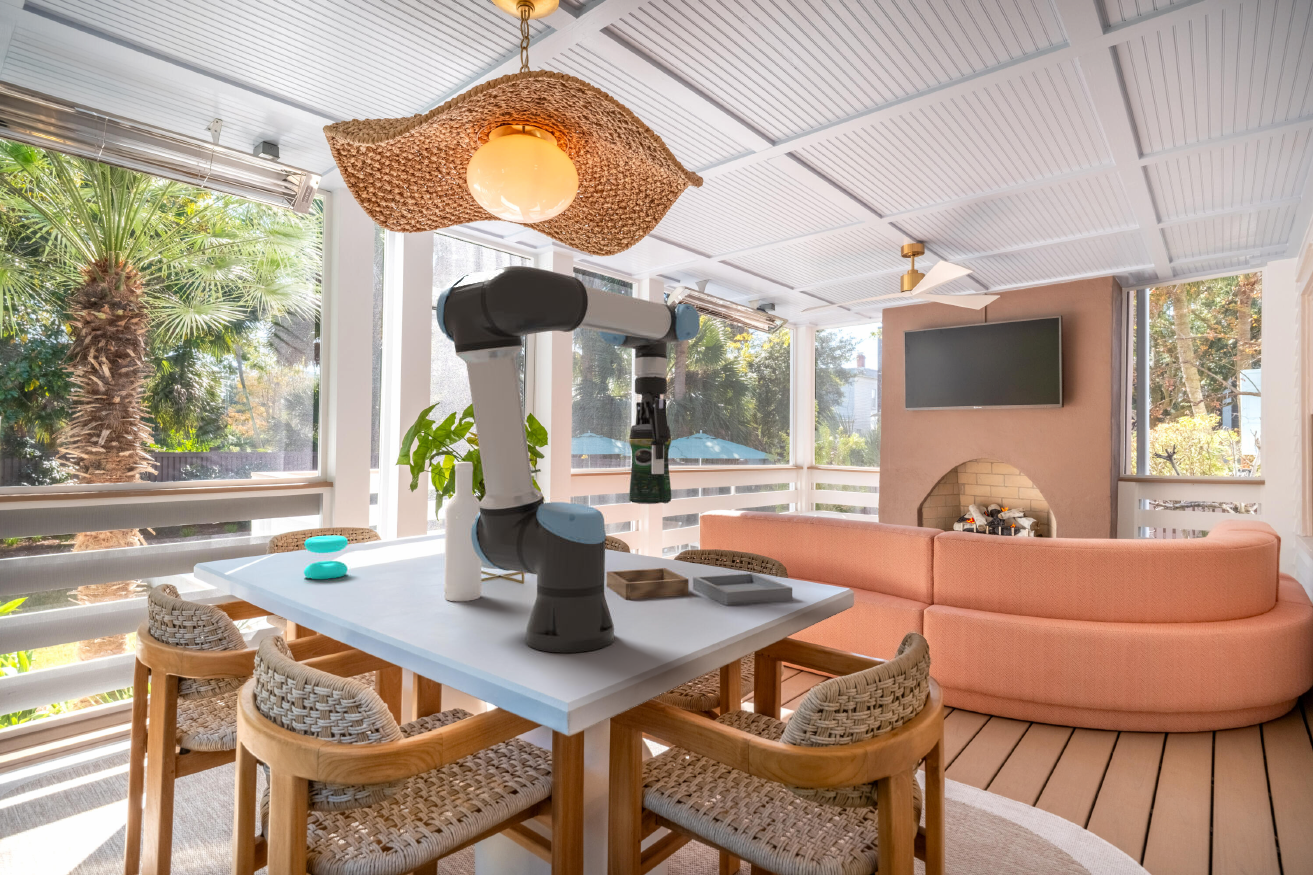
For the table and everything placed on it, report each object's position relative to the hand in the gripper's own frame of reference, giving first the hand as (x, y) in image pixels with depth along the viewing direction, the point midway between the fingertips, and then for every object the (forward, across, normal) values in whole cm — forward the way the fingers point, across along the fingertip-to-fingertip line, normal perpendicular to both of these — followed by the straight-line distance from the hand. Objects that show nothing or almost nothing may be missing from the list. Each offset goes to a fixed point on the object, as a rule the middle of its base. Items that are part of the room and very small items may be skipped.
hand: (650, 473), depth 158 cm
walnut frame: (+28, 0, +1) cm, 28 cm away
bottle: (+28, +7, +42) cm, 50 cm away
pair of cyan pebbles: (+28, +43, +72) cm, 89 cm away
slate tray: (+28, -11, -18) cm, 35 cm away
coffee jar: (+7, 0, 0) cm, 7 cm away
